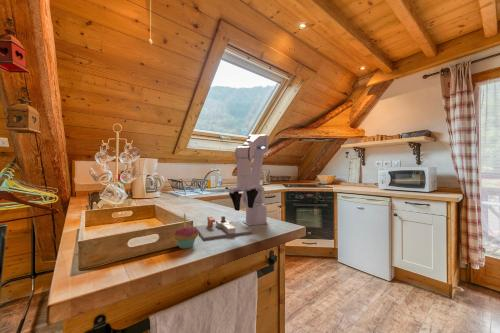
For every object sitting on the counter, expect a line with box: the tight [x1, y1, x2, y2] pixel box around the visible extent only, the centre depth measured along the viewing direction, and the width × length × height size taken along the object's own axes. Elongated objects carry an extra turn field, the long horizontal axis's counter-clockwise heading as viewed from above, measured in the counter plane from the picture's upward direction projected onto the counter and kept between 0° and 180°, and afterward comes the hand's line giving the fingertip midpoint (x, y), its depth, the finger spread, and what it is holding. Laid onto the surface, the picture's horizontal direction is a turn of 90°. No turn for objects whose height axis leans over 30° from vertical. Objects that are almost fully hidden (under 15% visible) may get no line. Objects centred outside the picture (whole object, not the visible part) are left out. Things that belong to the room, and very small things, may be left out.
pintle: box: [220, 215, 226, 222], centre depth 100 cm, size 2×2×4 cm
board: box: [194, 220, 254, 241], centre depth 97 cm, size 20×16×1 cm
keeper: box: [206, 215, 216, 227], centre depth 99 cm, size 2×5×5 cm, turn 24°
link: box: [215, 218, 235, 234], centre depth 96 cm, size 14×5×2 cm, turn 24°
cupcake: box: [174, 212, 199, 249], centre depth 80 cm, size 9×8×12 cm
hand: (243, 209), depth 94 cm, fingers open, 7 cm apart
